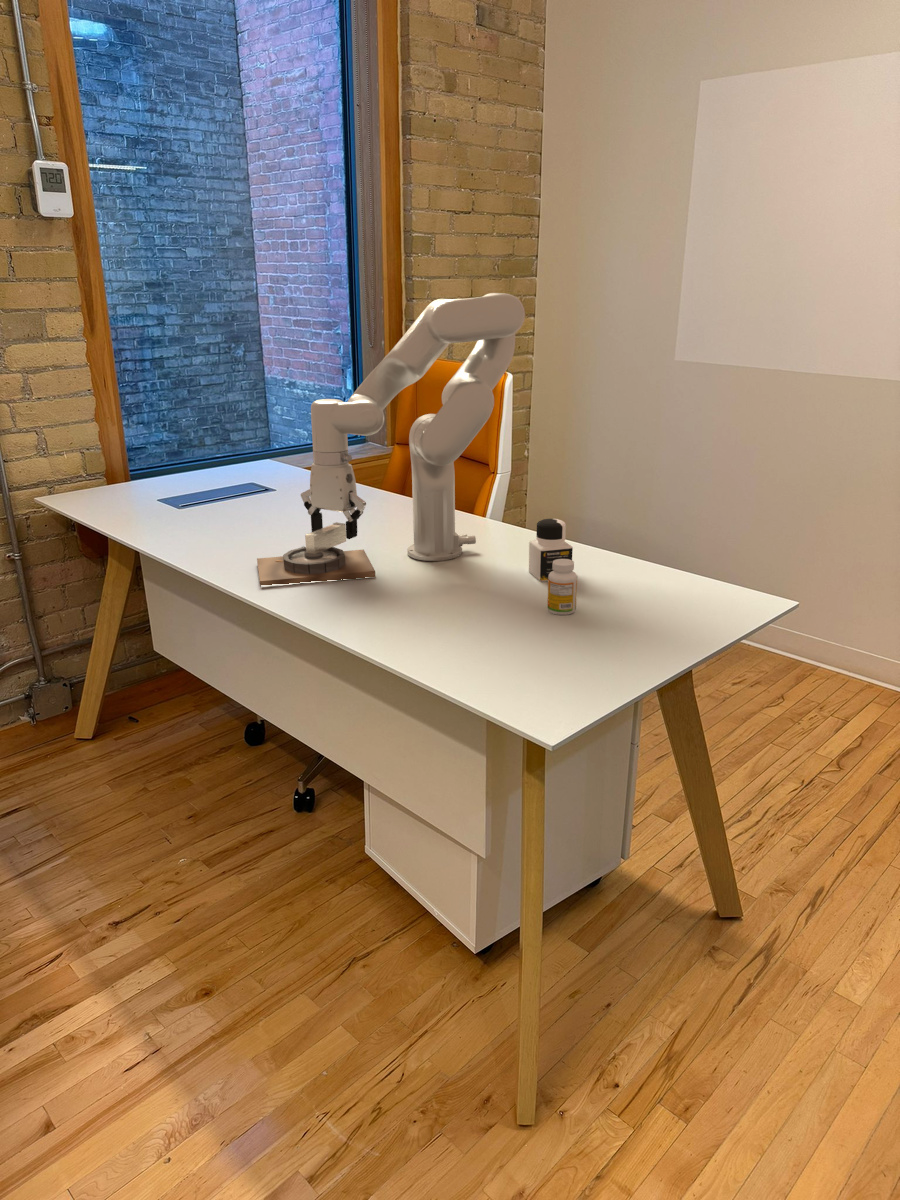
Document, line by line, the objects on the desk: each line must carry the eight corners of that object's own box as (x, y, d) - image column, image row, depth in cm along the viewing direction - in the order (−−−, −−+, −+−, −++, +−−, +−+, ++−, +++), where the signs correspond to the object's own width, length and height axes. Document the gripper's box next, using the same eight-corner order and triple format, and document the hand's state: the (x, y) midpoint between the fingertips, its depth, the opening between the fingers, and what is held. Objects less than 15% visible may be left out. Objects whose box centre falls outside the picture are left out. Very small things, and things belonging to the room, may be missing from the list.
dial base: (363, 555, 198) (363, 540, 196) (375, 577, 183) (374, 560, 182) (257, 564, 192) (256, 548, 191) (260, 588, 178) (258, 571, 176)
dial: (317, 573, 181) (315, 542, 178) (281, 566, 185) (279, 536, 183) (360, 554, 193) (359, 525, 190) (325, 548, 197) (323, 520, 195)
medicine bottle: (540, 582, 179) (541, 526, 175) (528, 571, 185) (529, 517, 181) (572, 579, 181) (574, 523, 176) (559, 568, 187) (560, 515, 183)
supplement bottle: (557, 603, 167) (558, 555, 164) (581, 609, 164) (583, 560, 160) (541, 611, 163) (543, 562, 160) (566, 617, 160) (567, 568, 157)
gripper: (373, 459, 185) (375, 536, 191) (310, 451, 193) (314, 525, 199) (352, 465, 179) (355, 544, 185) (288, 456, 187) (293, 532, 193)
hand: (334, 534), depth 192 cm, fingers open, 9 cm apart
